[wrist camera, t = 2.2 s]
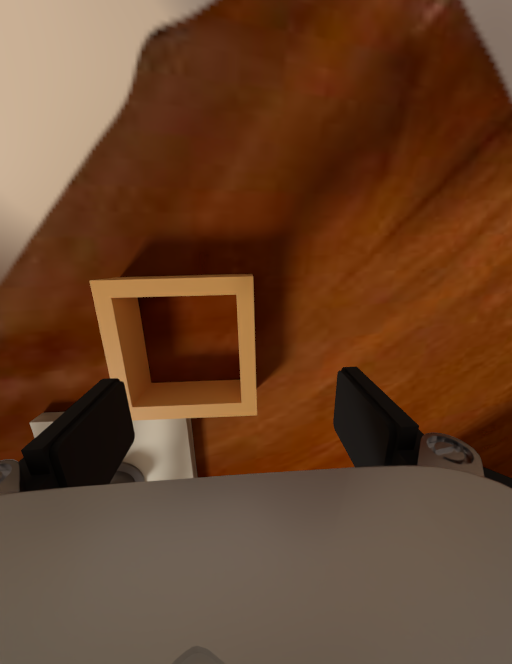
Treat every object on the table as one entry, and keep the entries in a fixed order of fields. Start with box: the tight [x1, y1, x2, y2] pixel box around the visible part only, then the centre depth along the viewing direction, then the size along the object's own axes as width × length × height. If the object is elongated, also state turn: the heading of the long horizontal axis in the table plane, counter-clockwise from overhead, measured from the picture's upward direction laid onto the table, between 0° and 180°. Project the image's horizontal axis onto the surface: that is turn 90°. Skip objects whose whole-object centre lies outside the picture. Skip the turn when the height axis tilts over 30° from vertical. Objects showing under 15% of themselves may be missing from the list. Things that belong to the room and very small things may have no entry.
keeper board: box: [30, 412, 198, 484], centre depth 23 cm, size 14×14×4 cm
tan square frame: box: [90, 274, 257, 421], centre depth 20 cm, size 11×11×4 cm
